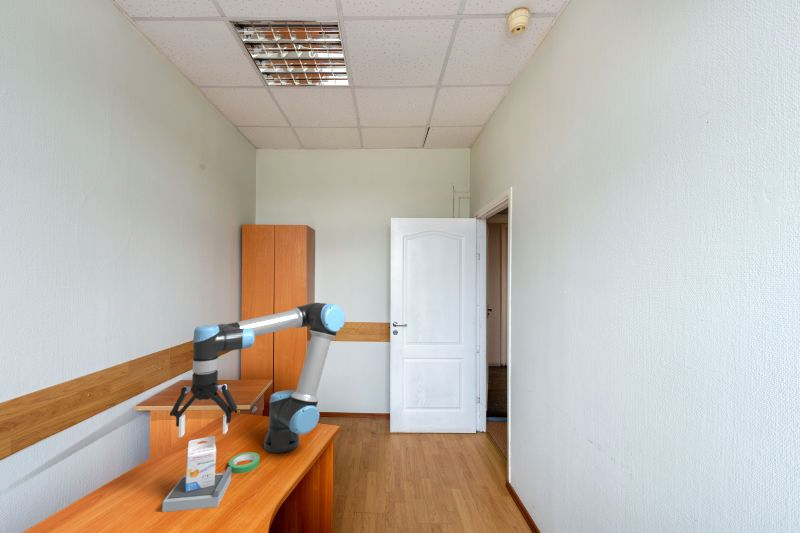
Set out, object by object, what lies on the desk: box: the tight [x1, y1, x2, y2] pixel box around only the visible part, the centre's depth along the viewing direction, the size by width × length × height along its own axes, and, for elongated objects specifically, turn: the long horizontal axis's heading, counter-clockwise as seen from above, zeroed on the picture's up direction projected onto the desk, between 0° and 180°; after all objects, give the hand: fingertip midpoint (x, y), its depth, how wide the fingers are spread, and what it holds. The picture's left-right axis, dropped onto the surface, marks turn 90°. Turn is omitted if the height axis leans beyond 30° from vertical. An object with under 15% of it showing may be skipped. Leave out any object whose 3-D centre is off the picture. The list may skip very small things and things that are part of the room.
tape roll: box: [227, 451, 260, 475], centre depth 131 cm, size 11×11×3 cm
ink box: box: [185, 435, 217, 492], centre depth 113 cm, size 8×5×15 cm, turn 123°
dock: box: [161, 467, 232, 513], centre depth 112 cm, size 16×14×5 cm
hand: (203, 434), depth 114 cm, fingers open, 13 cm apart
